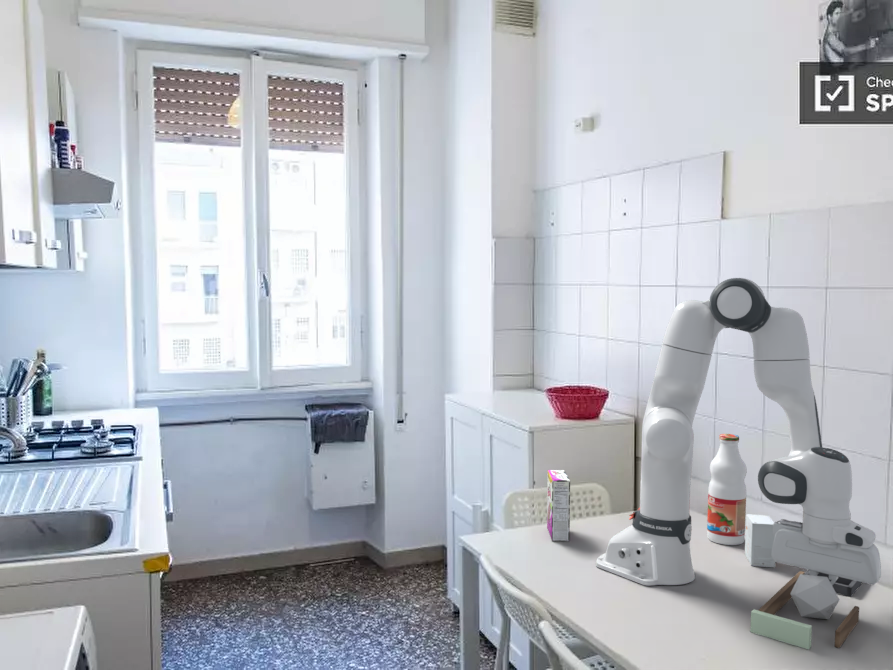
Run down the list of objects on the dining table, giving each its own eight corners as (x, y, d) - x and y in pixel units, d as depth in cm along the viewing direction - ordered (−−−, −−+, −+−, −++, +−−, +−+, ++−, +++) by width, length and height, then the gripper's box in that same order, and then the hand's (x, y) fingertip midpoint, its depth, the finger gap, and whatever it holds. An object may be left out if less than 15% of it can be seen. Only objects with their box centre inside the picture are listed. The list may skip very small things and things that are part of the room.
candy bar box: (545, 528, 206) (546, 469, 205) (563, 528, 206) (565, 469, 205) (550, 541, 194) (552, 479, 193) (569, 542, 194) (571, 480, 193)
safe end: (750, 631, 144) (751, 611, 144) (752, 629, 145) (753, 609, 145) (808, 649, 137) (809, 628, 137) (810, 646, 138) (811, 625, 138)
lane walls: (751, 631, 144) (751, 616, 144) (799, 583, 168) (799, 570, 168) (833, 655, 135) (834, 639, 135) (872, 602, 159) (873, 588, 159)
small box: (775, 568, 178) (777, 524, 177) (750, 566, 179) (752, 523, 178) (768, 556, 186) (769, 515, 185) (744, 554, 187) (745, 513, 186)
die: (826, 632, 146) (853, 591, 147) (785, 603, 149) (811, 563, 150) (817, 628, 154) (842, 589, 154) (778, 601, 157) (803, 563, 158)
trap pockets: (801, 584, 168) (802, 575, 168) (816, 569, 177) (816, 561, 177) (851, 596, 161) (851, 587, 161) (863, 580, 170) (864, 572, 170)
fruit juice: (751, 545, 194) (755, 438, 192) (718, 546, 192) (721, 439, 190) (732, 533, 203) (736, 431, 201) (700, 534, 201) (703, 432, 200)
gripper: (768, 520, 158) (766, 584, 159) (878, 542, 145) (874, 611, 146) (777, 513, 163) (775, 575, 164) (884, 534, 150) (881, 601, 151)
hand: (823, 592), depth 155 cm, fingers closed
